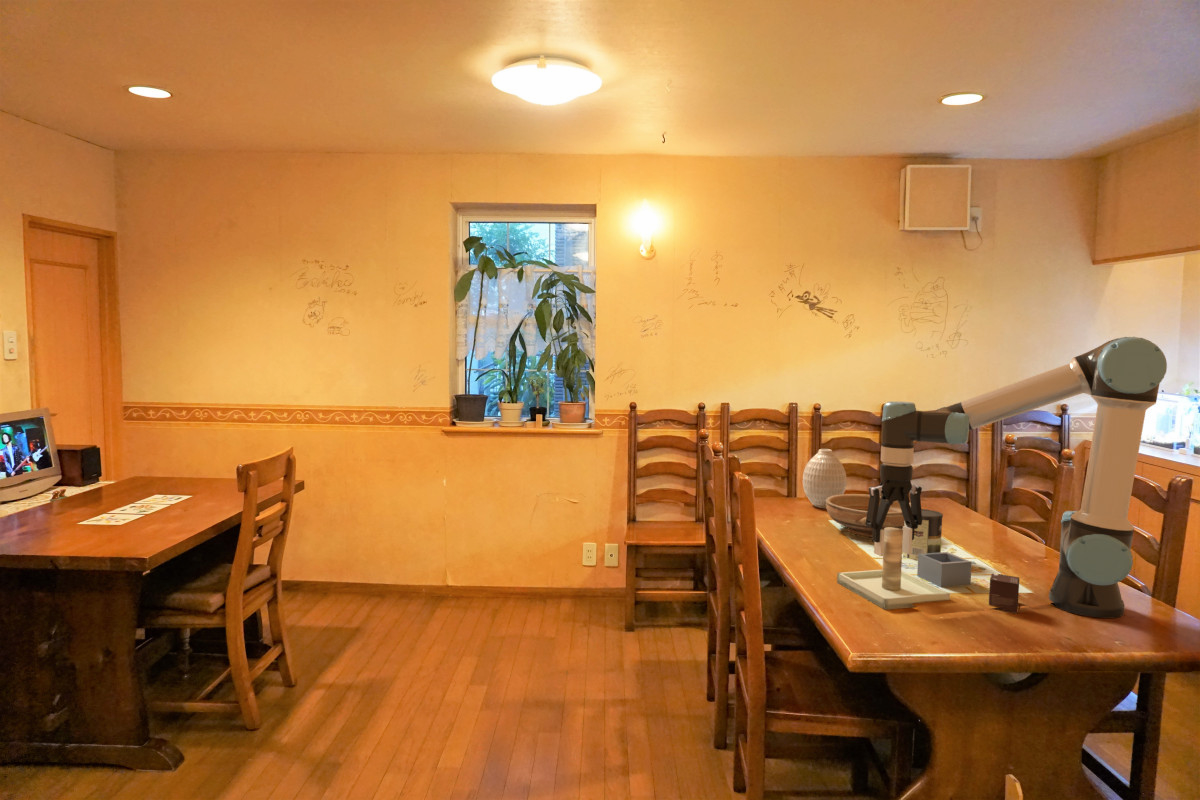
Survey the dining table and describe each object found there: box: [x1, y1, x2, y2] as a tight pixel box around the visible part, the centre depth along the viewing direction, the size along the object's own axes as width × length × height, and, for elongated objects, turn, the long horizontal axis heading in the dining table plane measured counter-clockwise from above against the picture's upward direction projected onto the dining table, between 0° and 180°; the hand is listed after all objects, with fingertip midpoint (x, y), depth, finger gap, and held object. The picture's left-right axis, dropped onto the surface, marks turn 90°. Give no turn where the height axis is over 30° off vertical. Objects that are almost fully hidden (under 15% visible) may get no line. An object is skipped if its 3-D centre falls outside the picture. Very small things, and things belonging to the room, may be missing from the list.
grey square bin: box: [916, 551, 973, 588], centre depth 190 cm, size 9×9×7 cm
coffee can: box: [902, 508, 944, 562], centre depth 211 cm, size 10×10×14 cm
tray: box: [836, 569, 951, 611], centre depth 183 cm, size 20×18×3 cm
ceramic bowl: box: [825, 493, 911, 538], centre depth 242 cm, size 37×29×10 cm
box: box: [988, 573, 1020, 614], centre depth 173 cm, size 6×6×7 cm
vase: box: [802, 448, 847, 509], centre depth 280 cm, size 16×16×22 cm
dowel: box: [881, 527, 903, 591], centre depth 182 cm, size 4×4×15 cm
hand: (892, 553), depth 182 cm, fingers open, 7 cm apart
